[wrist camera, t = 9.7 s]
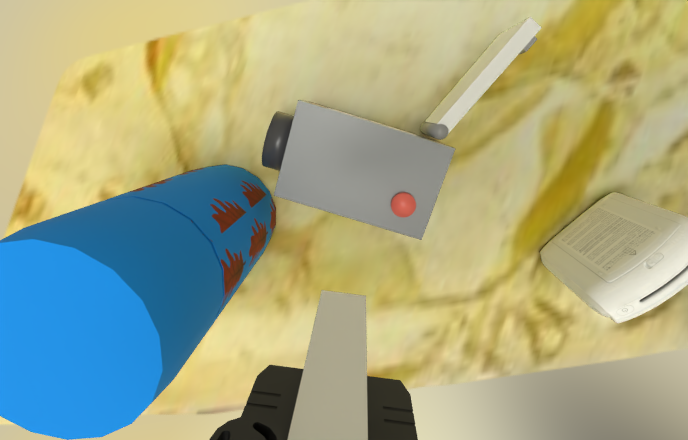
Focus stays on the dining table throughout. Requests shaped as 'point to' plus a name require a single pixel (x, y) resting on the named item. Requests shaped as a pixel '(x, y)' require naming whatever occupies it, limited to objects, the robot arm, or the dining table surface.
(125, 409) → the thermos
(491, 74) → the side door
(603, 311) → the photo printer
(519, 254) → the dining table surface
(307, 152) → the camera body
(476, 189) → the dining table surface
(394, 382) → the robot arm
